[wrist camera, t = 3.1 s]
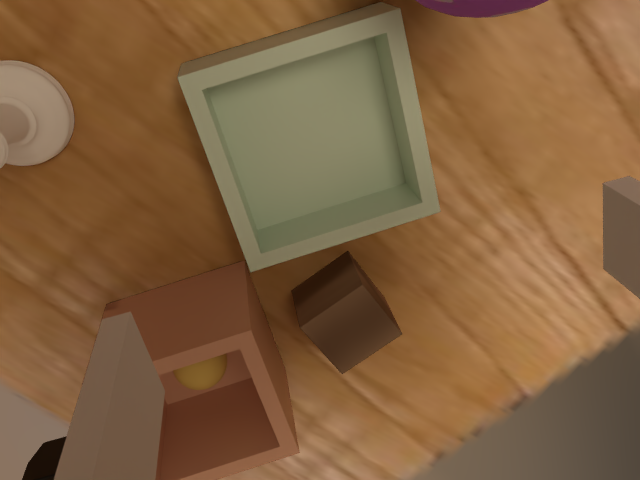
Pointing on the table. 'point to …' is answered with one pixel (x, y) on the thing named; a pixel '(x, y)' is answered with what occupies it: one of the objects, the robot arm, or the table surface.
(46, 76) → the chess piece
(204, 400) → the square terracotta box
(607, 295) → the table surface
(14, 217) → the table surface
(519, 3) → the toy
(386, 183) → the green tray
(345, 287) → the walnut block
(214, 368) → the yellow ball
